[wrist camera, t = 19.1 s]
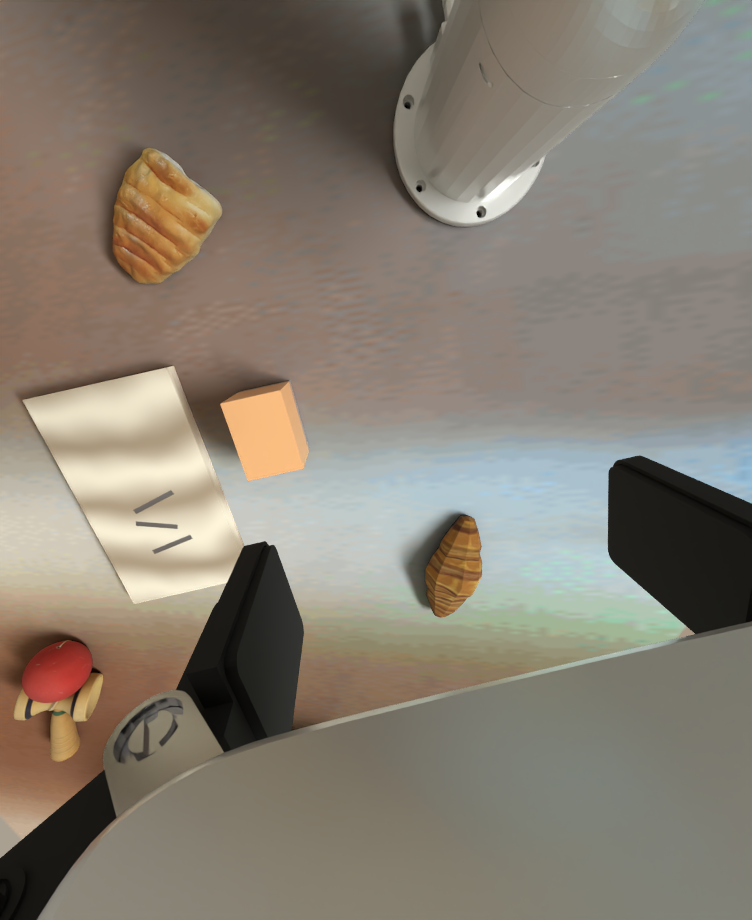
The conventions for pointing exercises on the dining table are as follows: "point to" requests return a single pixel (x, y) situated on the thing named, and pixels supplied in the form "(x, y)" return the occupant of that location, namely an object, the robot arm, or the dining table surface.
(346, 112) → the dining table surface
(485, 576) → the dining table surface
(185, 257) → the pastry
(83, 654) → the kendama
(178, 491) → the ash board
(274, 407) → the block
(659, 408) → the dining table surface
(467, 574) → the croissant
